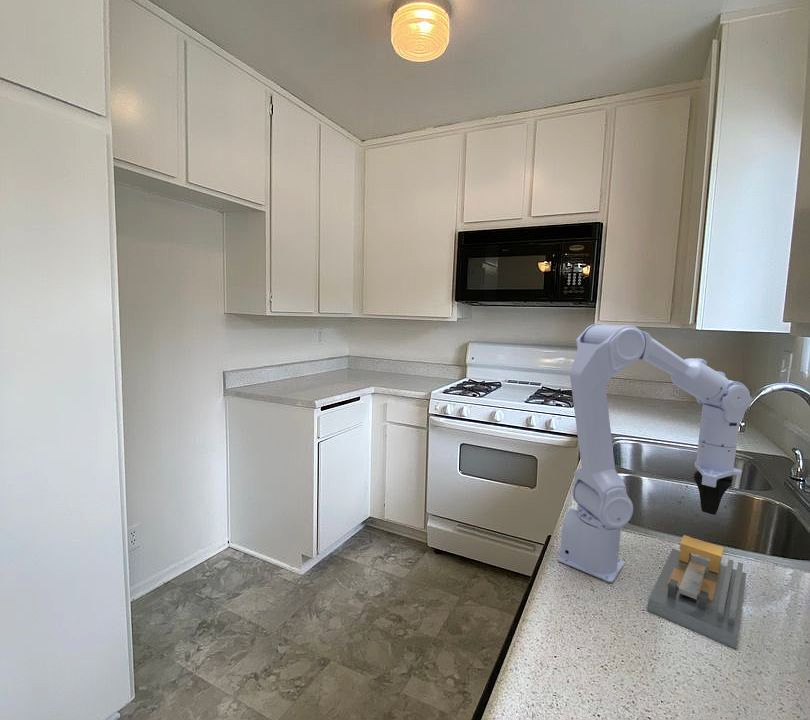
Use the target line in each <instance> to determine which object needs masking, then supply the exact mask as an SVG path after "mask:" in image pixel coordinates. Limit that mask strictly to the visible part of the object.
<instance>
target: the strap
mask: <svg viewBox="0 0 810 720" xmlns="http://www.w3.org/2000/svg"><path fill="white" fill-rule="evenodd" d="M705 571H706V565H703V564H700V563H697V562H694V561H691V560H690V561H689V564H688V566H687V569H686V571H685V574H684V577H683V579H682V582H681V584H680V587H679V592H678V593H681V594H683V595H686V596H689V597H691V598H694V599H696V600H697V597H698V594H699V591H700V587H701V584H702V581H703V578H704V574H705Z"/></svg>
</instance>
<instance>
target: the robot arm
mask: <svg viewBox="0 0 810 720" xmlns="http://www.w3.org/2000/svg"><path fill="white" fill-rule="evenodd" d="M575 341H576V354H575V356H574V359H573V362H572V366H571V369H570V374H569V375H570V376H569V377H570V378H569V379H570V386H571V393H572V402H573V403H572V404H573V408H574V409H573V411H574V417H575V425H576V433H577V442H578V448H579V449H578V450H579V457H580V465H581V467H579V468H578V469H576V470H575V471H574V473H573V474H574V482H573V486H572V488H571V495H572V499H573V500H574V502H575V503H577V509H572V508H570V509H568V511H567V512H566V513H565V515H564V517H563V522H562V527H561V536H560V537H561V538H560V548H559V549H560V550H559V557H558V559H557V560H558V562H560V563H562V564H564V565H566V566H569V567H572V568H574V569H576V570H579V571H580V572H583V573H585V574H589V575H591V576H594V577H595V578H598V579H600V580H603V581H605V582H607V583H610V584H611V583H614V581H615V580H616V579H617V576H618V575H619V573H620V572H621V570H622V569H623V567H624V566H625V561H623V560H620V559H619V553H620V543H621V532H622V529H623V528H624V526H625V525H627V524H628V523H629V522H630V520H631V518H632V517H633V514H634V505H633V502H632V500H631V498H630V497H629V496H628V493H627V487H626V484H625V483H624V481H623V480H622V478H621V477H620V475H619V474H618V471H617V470H616V466H615V456H614V448H613V438H612V430H611V421H610V413H609V403H608V394H607V386H606V383H608V381H609V380H611V378H612V377H614V376H615V375H617V374H618V373H620V372H621V371H623V370H625V369H626V368H628V367H629V366H631V365H632V364H633V363H635V362H637V361H638V360H642V361H644V362H645V363H648V364H650V365H651V366H653V367H655V368H657V369H659V370H661V371H663V372H664V373H667V374H669V375H670V380H671V383H672V384H673V385H674V386H676V387H677V388H679V389H681V390H683V391H684V392H686V393H687V394H689V395H691V396H692V397H694V398H695V400H696V402H697V403H698V404H699V405H702V407H701V417H700V425H699V426H700V427H699V434H698V435H699V436H698V440H697V441H698V444H697V449H696V450H697V452H696V460H695V461H694V467H695V469H696V470H697V471H695V472H694V475H693V479H694V481H695V484H696V486H697V489H698V493H699V500H700V501H699V502H700V508H701V511H702V512H703V513H707V514H709V515H712V516H716V515H717V513H718V509H719V508H720V504H721V501H722V499H723V497H724V495H725V493H726V492H727V490H728V489H729V488H730V487H731V485H732V483H733V477H732V476H738V477H741V476H742V469H739V468H735V461H736V460H735V459H736V454H737V446H738V437H739V428H740V423H742V421H743V420H744V417H745V413H746V411H747V410H748V409H749V407H750V406H751V403H752V401H753V397H752V396H751V393H750V390H749V388H747V386H746V385H745V384H744V383H742V382H740V381H736V380H730V379H728V378H727V377H726V373H724V372H723V371H719V370H718V371H717V370H715V369H713V368H711V367H710V366H708V365H707V364H708V361H707V360H705V359H703V358H698V357H696V358H692V357H691V358H685V359H683V357H681V356H679V355H677V354H676V353H675V352H673V351H672V350H671V349H669V348H668V347H666V346H664V345H663V344H662V343H660V342H658V341H657V340H656V339H655V338H654V337H652V335H651V334H650V333H648V332H646V331H643V330H641V329H640V328H638V327H637V326H634V325H631V324H630V325H607V324H606V325H605V324H602V323H601V324H600V323H594V324H591V325H589V326H587V328H585V329H584V331H583V332H582V333H580V335H579V336H578V337H577V338H576V340H575Z"/></svg>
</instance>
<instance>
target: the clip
mask: <svg viewBox="0 0 810 720" xmlns="http://www.w3.org/2000/svg"><path fill="white" fill-rule="evenodd" d="M679 551H680V555H679V560H680V561H683V562H686V563H688V562H689V560H690V557H691V555H694V556H697V557H700V558H703V559H706V560H709V561H710V562H709V571H712V572H715V573H719V569H720V565H722V558H723V555H724V547H723V546H720V545H716V544H714V543H710V542H708V541H704V540H701V539H698V538H694V537H691V536H688V535H685V534H684V535H683V536H682V539H681V541H680V542H679Z"/></svg>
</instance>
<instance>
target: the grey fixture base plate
mask: <svg viewBox="0 0 810 720" xmlns="http://www.w3.org/2000/svg"><path fill="white" fill-rule="evenodd" d="M679 555H680V549H679V550H678V549H675V548H672V549H671V550H670V554H669V556H668V558H667V560H666V561H665V564H664V566H663V568H662V570H661V572H660V574H659V576H658V578H657V580H656V582H655V585H654V587H653V589H652V591H651V593H650V595H649V597H648V600H647V601H648V602H647V612H649V613H652V614H654V615H657V616H658V617H661V618H663V619H666V620H667V621H670V622H672V623H675V624H677V625H679V626H682V627H684V628H686V629H689V630H691V631H694V632H696V633H698V634H700V635H703V636H705V637H707V638H710V639H712V640H714V641H716V642H718V643H720V644H722V645H726V646H728V647H730V648H732V649H735V650H737V646H738V645H737V644H738V637H739V632H740V631H739V630H740V623H741V617H742V615H741V614H742V608H743V600H744V593H745V586H746V577H747V572H744V571H743V568H744V563H742V562H739V561H738V562H737V567H736V569H735V568H734V559H731V558H728V560H727V565H723V564H721V565H720V569H719V573H715V572H712V571H709V562H710V559H707V558H704V557H701V556H698V555H695V554H691V557H690V560H691V561H694V562H697V563H700V564H703V565H706V571H705V574H704V578H703V581H702V584H701V587H700V591H699V594H698V597H697V600H696V599H694V598H691V597H689V596H686V595H683V594H681V593H678V592H679V587H680V584H681V582H682V579H683V577H684V574H685V571H686V569H687V566H688V564H689V562H688V563H686V562H683V561H680V560H679ZM690 560H689V561H690Z"/></svg>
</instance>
